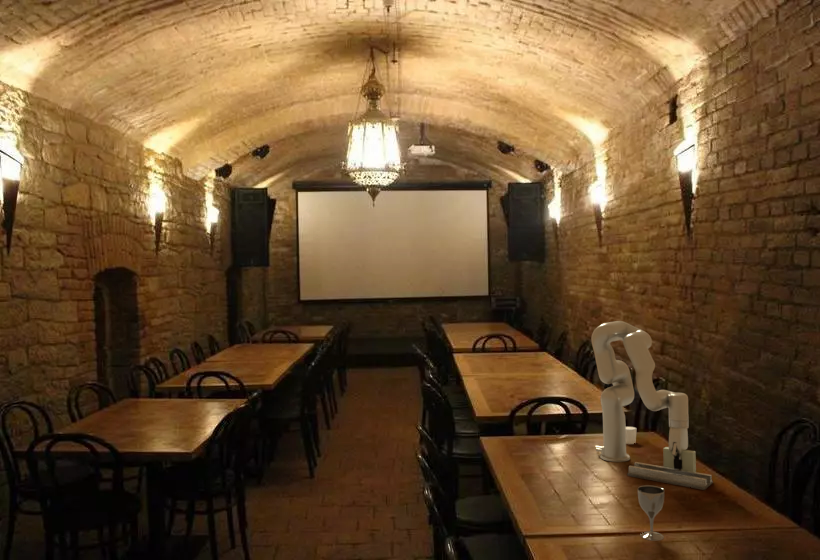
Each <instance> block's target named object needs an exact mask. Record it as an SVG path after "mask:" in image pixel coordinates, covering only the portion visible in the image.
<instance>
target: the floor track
mask: <svg viewBox="0 0 820 560" xmlns="http://www.w3.org/2000/svg"><path fill="white" fill-rule="evenodd" d="M626 475H627V477H632V478H638V479H642V480H648V481H652V482H653V481H654V482H660V483H665V484H670V485H674V486H675V485H676V486H679V487H680V486H681V487H686V488H690V487H691V489H697V490H702V491H706V490H707V489H708V488H710V486H711V485H712V484H713V483H714V482H713V480H712V474H709V473H704V472H703V473H702V472H697V471H696V472H692V471H686V470H680V469H674V468H668V467H664V466H663V465H657V464H656V465H654V464H649V463H643V462H638V461H635V462H634V465H629V466H628V472H627V474H626Z"/></svg>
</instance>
